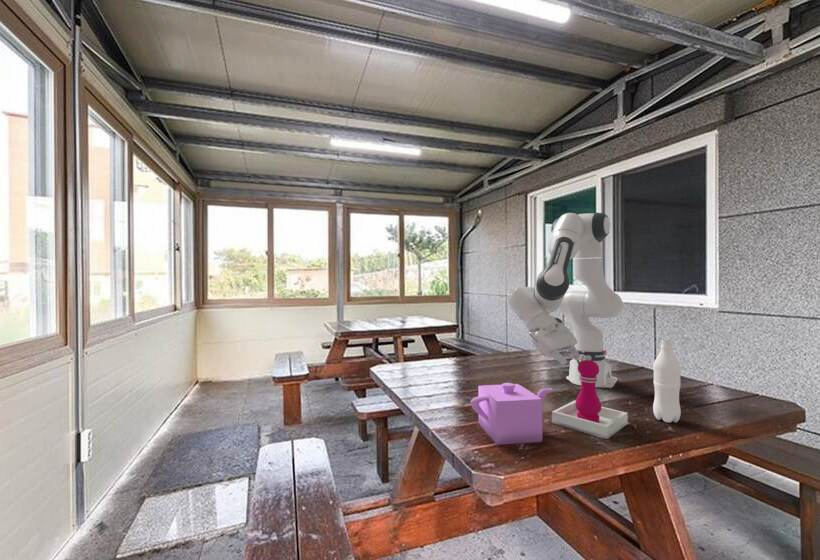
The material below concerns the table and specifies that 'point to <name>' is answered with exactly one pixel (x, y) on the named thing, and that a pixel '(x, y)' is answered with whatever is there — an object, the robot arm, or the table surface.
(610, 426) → the tray
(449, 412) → the table surface
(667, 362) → the water bottle
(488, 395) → the teapot
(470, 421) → the table surface
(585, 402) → the pepper mill
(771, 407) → the table surface
